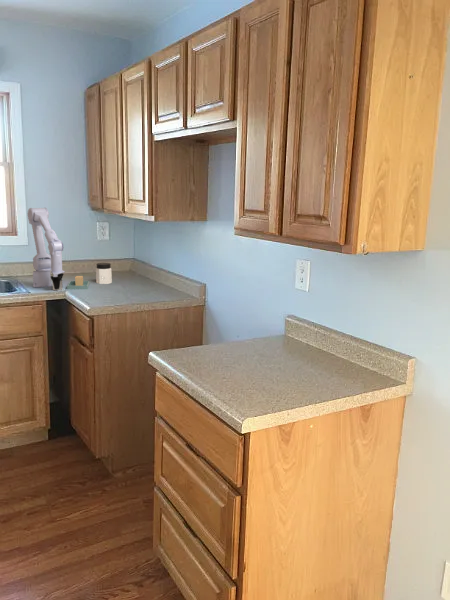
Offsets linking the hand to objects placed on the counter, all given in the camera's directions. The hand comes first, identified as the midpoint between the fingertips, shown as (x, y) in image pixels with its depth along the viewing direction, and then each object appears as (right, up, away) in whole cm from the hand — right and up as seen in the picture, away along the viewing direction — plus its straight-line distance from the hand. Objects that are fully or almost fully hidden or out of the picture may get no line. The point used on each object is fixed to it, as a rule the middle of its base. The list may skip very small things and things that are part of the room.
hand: (57, 287), depth 285 cm
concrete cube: (0, -1, 0) cm, 2 cm away
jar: (+20, +3, +23) cm, 31 cm away
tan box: (+8, +2, +13) cm, 16 cm away
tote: (+9, 0, +9) cm, 13 cm away
